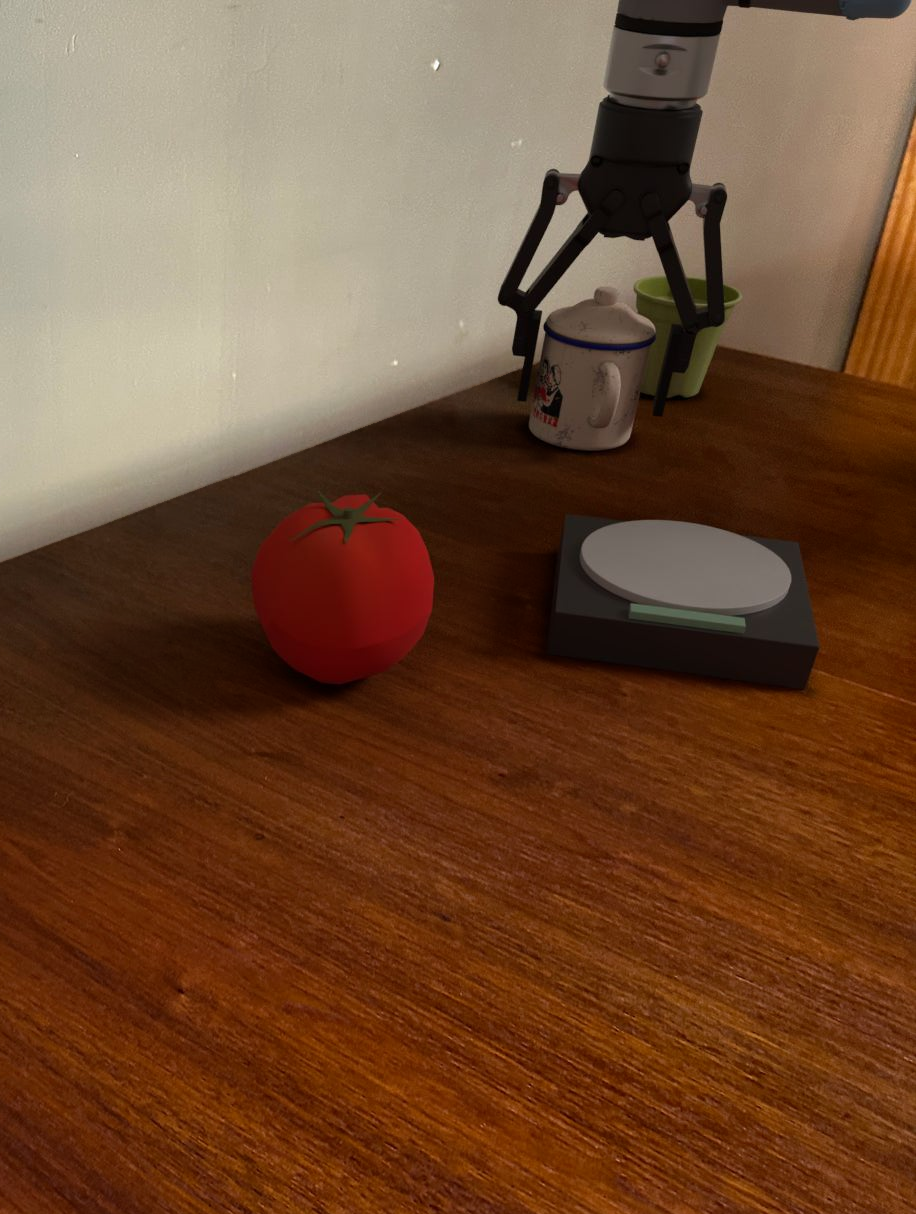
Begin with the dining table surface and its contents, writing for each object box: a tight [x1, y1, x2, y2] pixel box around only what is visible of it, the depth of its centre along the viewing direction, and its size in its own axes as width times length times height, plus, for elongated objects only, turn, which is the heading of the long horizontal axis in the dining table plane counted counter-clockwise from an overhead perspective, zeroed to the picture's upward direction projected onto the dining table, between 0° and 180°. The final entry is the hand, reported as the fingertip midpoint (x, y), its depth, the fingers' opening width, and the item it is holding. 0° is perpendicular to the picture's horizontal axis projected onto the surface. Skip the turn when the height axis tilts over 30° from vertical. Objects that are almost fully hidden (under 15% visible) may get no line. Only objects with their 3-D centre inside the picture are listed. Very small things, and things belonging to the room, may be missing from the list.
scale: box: [546, 513, 820, 690], centre depth 95 cm, size 16×16×4 cm
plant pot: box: [633, 275, 743, 399], centre depth 129 cm, size 9×9×9 cm
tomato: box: [250, 490, 435, 686], centre depth 86 cm, size 11×13×10 cm
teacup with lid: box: [528, 286, 656, 452], centre depth 117 cm, size 12×9×12 cm
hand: (589, 403), depth 119 cm, fingers open, 10 cm apart
